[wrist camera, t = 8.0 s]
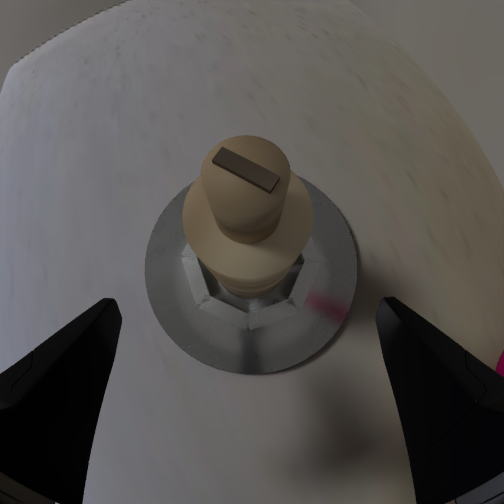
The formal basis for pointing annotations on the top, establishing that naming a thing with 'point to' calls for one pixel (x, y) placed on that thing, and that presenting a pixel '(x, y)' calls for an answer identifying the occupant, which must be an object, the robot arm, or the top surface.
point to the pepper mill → (501, 365)
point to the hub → (252, 310)
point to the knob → (247, 216)
